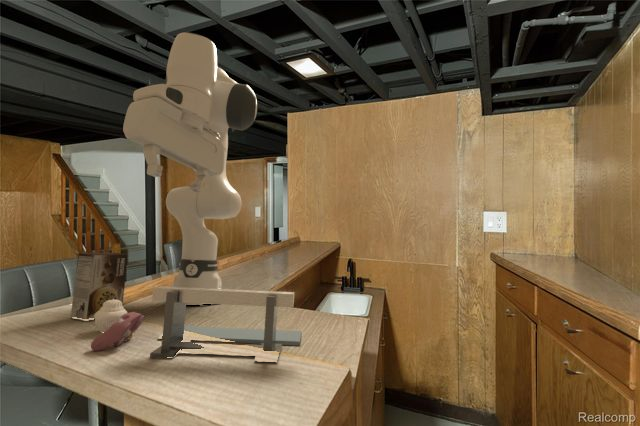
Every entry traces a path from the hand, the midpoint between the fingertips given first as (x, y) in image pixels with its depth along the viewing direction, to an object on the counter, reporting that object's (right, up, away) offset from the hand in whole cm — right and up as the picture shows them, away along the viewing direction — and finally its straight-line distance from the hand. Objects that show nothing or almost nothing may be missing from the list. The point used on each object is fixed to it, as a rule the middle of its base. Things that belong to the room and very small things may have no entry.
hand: (176, 184), depth 55 cm
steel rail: (+8, -22, +3) cm, 24 cm away
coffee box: (-31, -32, +23) cm, 50 cm away
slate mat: (+7, -32, +12) cm, 35 cm away
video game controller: (-13, -31, +5) cm, 34 cm away
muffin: (-20, -31, +12) cm, 39 cm away
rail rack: (+7, -31, +2) cm, 32 cm away
